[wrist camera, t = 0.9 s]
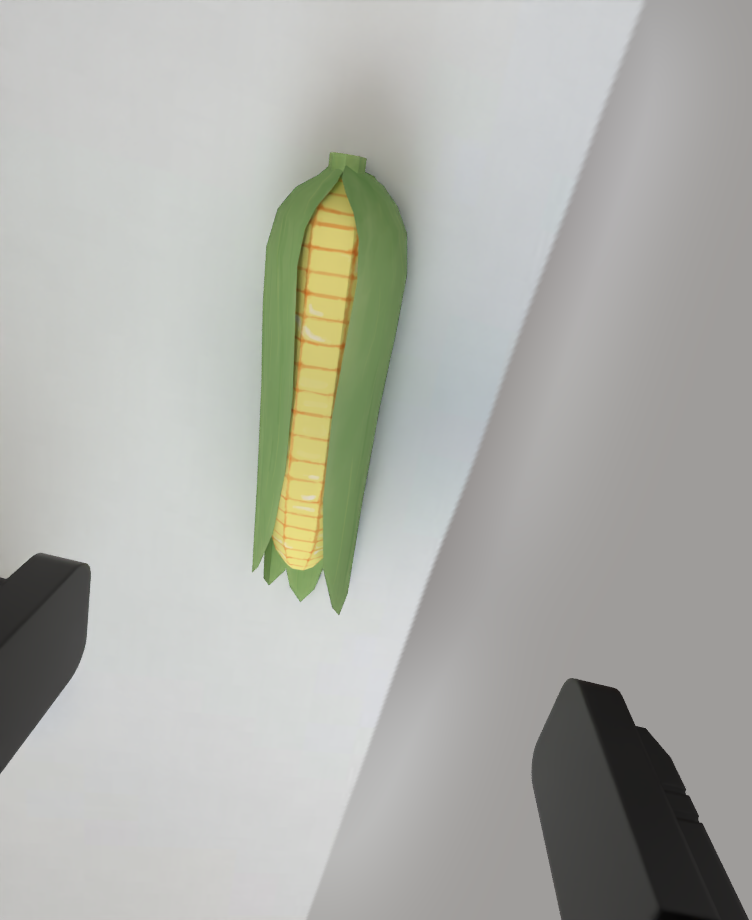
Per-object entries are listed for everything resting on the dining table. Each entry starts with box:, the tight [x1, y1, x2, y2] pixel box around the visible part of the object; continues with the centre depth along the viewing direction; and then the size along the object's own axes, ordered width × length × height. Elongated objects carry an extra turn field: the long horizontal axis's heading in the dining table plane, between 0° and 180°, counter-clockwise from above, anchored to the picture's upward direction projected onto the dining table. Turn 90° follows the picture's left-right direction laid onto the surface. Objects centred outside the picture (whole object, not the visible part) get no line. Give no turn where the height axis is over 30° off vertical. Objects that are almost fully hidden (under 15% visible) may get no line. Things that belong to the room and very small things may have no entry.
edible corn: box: [252, 152, 407, 615], centre depth 25 cm, size 5×20×5 cm, turn 171°
